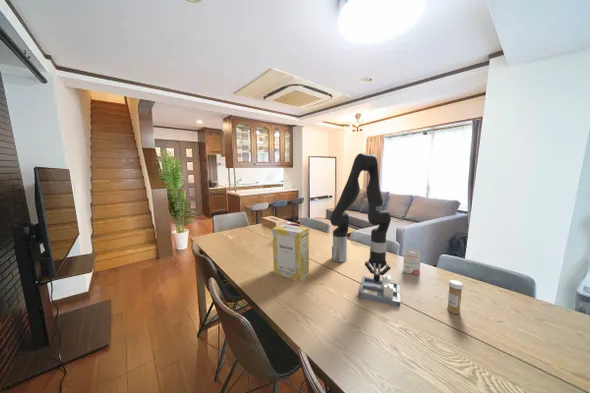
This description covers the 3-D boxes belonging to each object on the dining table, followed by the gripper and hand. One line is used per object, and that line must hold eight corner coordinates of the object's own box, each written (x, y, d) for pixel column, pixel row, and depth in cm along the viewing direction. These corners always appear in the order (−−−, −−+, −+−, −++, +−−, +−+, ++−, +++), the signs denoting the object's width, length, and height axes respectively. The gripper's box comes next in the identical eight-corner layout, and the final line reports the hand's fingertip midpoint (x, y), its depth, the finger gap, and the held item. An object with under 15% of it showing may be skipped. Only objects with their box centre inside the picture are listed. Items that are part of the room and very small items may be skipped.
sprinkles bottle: (462, 313, 90) (465, 284, 89) (454, 315, 89) (456, 285, 88) (452, 306, 95) (455, 278, 93) (444, 308, 94) (446, 280, 92)
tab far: (381, 287, 108) (382, 276, 107) (381, 283, 111) (382, 273, 111) (390, 289, 106) (390, 278, 105) (390, 285, 110) (390, 274, 109)
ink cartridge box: (419, 271, 127) (420, 247, 125) (419, 275, 123) (421, 250, 121) (403, 268, 131) (404, 245, 129) (403, 272, 127) (404, 248, 124)
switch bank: (358, 297, 102) (358, 292, 102) (362, 280, 118) (363, 276, 117) (399, 307, 95) (400, 302, 95) (398, 287, 110) (399, 283, 110)
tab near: (383, 297, 100) (383, 285, 99) (383, 293, 103) (384, 281, 102) (392, 299, 98) (393, 287, 97) (392, 295, 102) (393, 283, 101)
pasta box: (273, 273, 127) (272, 228, 123) (283, 266, 136) (282, 224, 132) (300, 281, 118) (299, 232, 114) (308, 273, 127) (308, 227, 123)
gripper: (363, 250, 107) (362, 282, 110) (392, 254, 102) (390, 287, 104) (365, 245, 114) (364, 275, 116) (392, 248, 108) (390, 280, 111)
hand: (376, 281), depth 110 cm, fingers closed
